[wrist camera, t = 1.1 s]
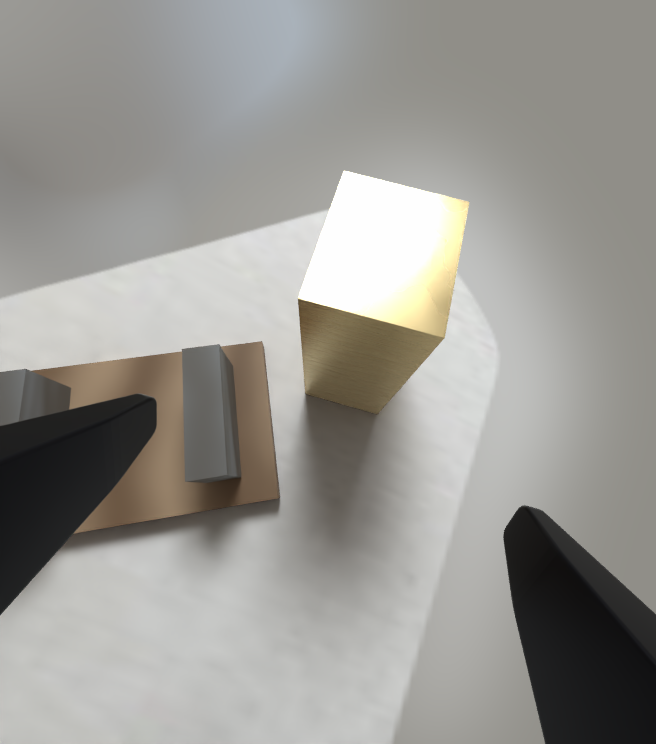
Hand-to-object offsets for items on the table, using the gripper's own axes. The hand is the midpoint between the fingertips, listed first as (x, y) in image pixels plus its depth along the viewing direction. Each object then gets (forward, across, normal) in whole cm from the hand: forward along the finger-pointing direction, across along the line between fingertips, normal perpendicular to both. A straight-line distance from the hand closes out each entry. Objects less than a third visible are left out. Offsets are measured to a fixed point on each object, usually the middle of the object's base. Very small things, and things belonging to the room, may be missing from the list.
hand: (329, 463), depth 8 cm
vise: (+9, +11, +10) cm, 18 cm away
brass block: (+15, 0, +4) cm, 16 cm away
